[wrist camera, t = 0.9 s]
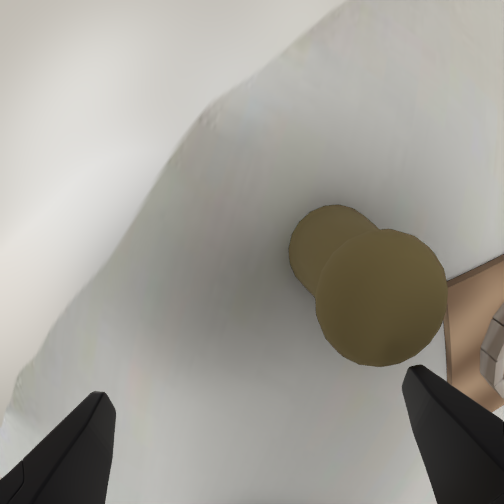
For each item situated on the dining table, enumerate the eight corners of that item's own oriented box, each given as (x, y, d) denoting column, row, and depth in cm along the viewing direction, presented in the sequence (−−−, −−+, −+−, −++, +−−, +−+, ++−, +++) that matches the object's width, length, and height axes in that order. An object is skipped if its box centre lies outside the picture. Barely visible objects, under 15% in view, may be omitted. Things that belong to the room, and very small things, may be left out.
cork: (329, 184, 19) (398, 182, 9) (395, 245, 20) (495, 297, 9) (268, 257, 21) (270, 332, 10) (337, 313, 21) (388, 415, 10)
